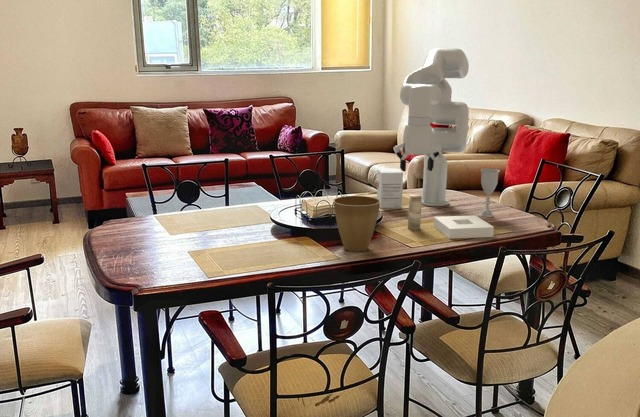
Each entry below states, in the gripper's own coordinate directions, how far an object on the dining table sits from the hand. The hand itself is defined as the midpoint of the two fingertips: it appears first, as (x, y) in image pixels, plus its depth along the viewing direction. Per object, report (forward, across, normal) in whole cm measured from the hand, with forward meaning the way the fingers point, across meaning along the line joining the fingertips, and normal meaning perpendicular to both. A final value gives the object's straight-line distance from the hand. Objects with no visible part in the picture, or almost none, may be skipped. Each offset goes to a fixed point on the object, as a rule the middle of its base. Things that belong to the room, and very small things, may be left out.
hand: (416, 170), depth 221 cm
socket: (+21, -16, +5) cm, 27 cm away
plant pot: (+22, +26, +19) cm, 39 cm away
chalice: (+21, -34, -15) cm, 43 cm away
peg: (+21, 0, -1) cm, 21 cm away
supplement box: (+21, 0, -35) cm, 40 cm away
